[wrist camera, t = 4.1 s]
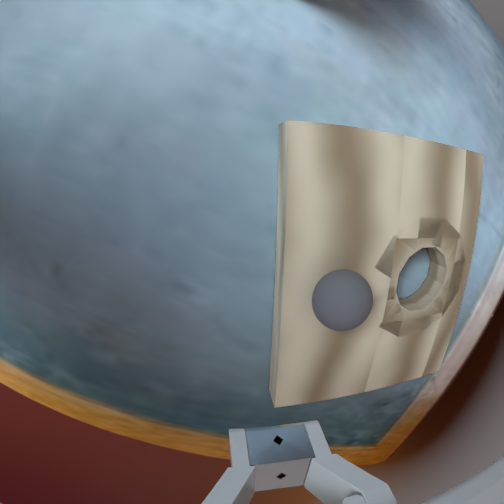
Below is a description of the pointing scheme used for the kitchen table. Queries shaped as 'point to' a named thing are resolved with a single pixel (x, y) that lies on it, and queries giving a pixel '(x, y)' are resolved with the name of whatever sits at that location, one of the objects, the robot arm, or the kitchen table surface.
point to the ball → (342, 300)
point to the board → (367, 255)
